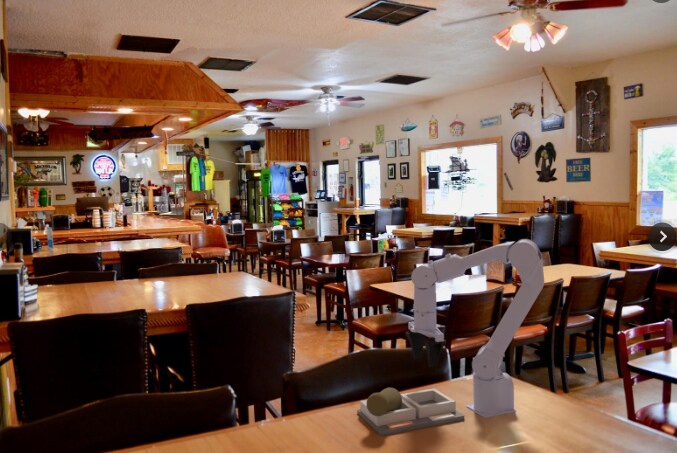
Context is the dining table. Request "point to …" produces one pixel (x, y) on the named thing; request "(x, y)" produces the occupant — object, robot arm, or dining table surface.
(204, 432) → the dining table surface
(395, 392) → the cork
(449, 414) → the caddy
